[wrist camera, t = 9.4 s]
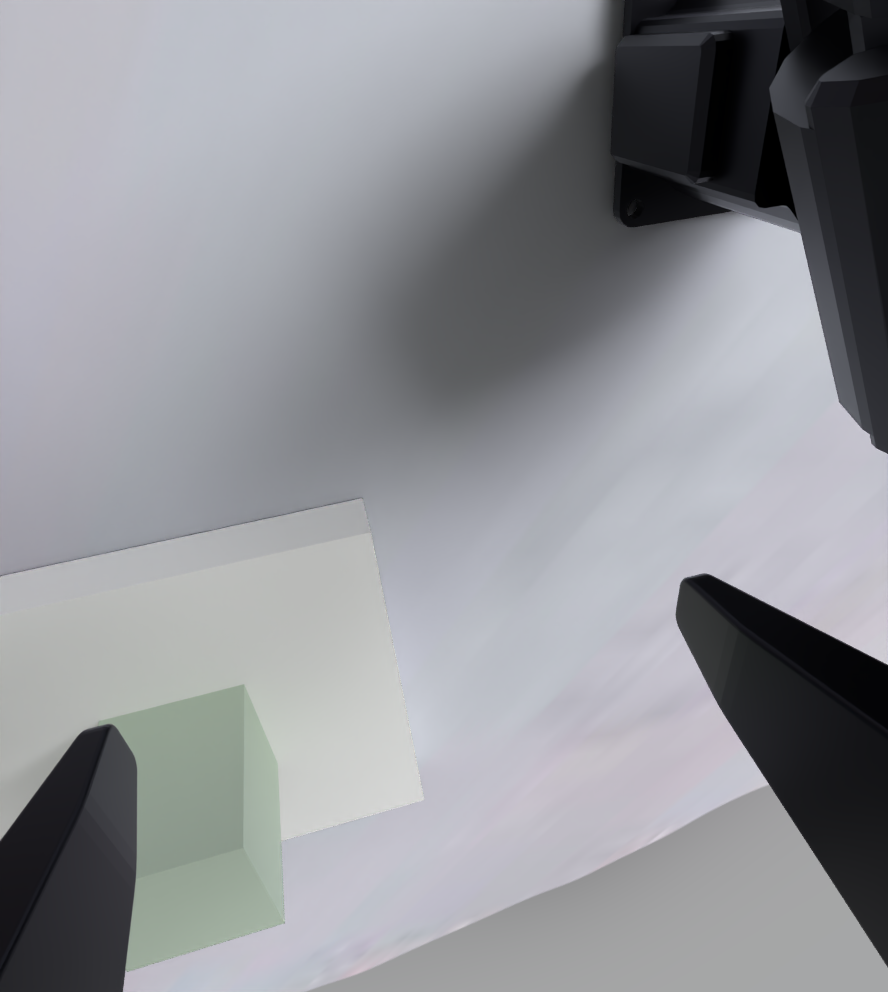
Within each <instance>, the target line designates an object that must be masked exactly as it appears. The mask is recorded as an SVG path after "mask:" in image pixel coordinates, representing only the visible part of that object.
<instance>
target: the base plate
mask: <svg viewBox="0 0 888 992" xmlns="http://www.w3.org/2000/svg"><path fill="white" fill-rule="evenodd" d="M243 684H244V685H245V687H246V690H247V692H248V694H249V697H250V699H251V701H252V704H253V706H254V709H255V711H256V713H257V716H258V718H259V720H260V723H261V725H262V727H263V730H264V732H265V734H266V737H267V739H268V742H269V744H270V746H271V749H272V751H273V753H274V756H275V758H276V760H277V763H278V778H279V801H280V825H281V841H284V840H288V839H291V838H295V837H298V836H302V835H305V834H309V833H312V832H316V831H319V830H322V829H326V828H329V827H333V826H336V825H340V824H343V823H347V822H350V821H354V820H357V819H361V818H364V817H368V816H371V815H374V814H378V813H381V812H385V811H388V810H392V809H395V808H399V807H402V806H406V805H409V804H413V803H416V802H419V801H423V800H424V796H423V791H422V786H421V781H420V776H419V771H418V766H417V761H416V755H415V750H414V745H413V740H412V735H411V730H410V725H409V720H408V715H407V710H406V705H405V700H404V695H403V690H402V685H401V680H400V675H399V670H398V665H397V660H396V655H395V650H394V645H393V640H392V635H391V630H390V625H389V620H388V615H387V610H386V605H385V600H384V595H383V590H382V585H381V580H380V575H379V569H378V564H377V559H376V554H375V549H374V544H373V539H372V534H371V530H370V526H369V522H368V518H367V514H366V510H365V507H364V503H363V499H362V498H360V499H356V500H351V501H346V502H342V503H337V504H332V505H328V506H323V507H319V508H314V509H309V510H305V511H300V512H295V513H291V514H286V515H281V516H277V517H272V518H268V519H263V520H258V521H254V522H249V523H244V524H240V525H235V526H230V527H226V528H221V529H217V530H212V531H207V532H203V533H198V534H193V535H189V536H184V537H180V538H175V539H170V540H166V541H161V542H156V543H152V544H147V545H142V546H138V547H133V548H129V549H124V550H119V551H115V552H110V553H105V554H101V555H96V556H91V557H87V558H82V559H78V560H73V561H68V562H64V563H59V564H54V565H50V566H45V567H41V568H36V569H31V570H27V571H22V572H17V573H13V574H8V575H3V576H0V840H1V839H2V837H3V836H4V835H5V833H6V832H7V831H8V829H9V828H10V827H11V825H12V824H13V823H14V821H15V820H16V818H17V817H18V816H19V814H20V813H21V812H22V810H23V809H24V808H25V806H26V805H27V804H28V802H29V801H30V800H31V798H32V797H33V795H34V794H35V793H36V791H37V790H38V789H39V787H40V786H41V785H42V783H43V782H44V781H45V779H46V778H47V776H48V775H49V774H50V772H51V771H52V770H53V768H54V767H55V766H56V764H57V763H58V762H59V760H60V759H61V758H62V756H63V755H64V753H65V752H66V751H67V749H68V748H69V747H70V745H71V744H72V743H73V741H74V740H75V739H76V737H77V736H78V735H79V734H80V733H81V732H82V731H84V730H86V729H89V728H93V727H97V726H98V723H99V721H101V720H105V719H109V718H113V717H117V716H121V715H125V714H129V713H133V712H137V711H141V710H145V709H148V708H152V707H156V706H160V705H164V704H168V703H172V702H176V701H180V700H184V699H188V698H192V697H196V696H200V695H203V694H207V693H211V692H215V691H219V690H223V689H227V688H231V687H235V686H239V685H243Z"/></svg>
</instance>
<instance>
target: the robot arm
mask: <svg viewBox="0 0 888 992" xmlns="http://www.w3.org/2000/svg"><path fill="white" fill-rule="evenodd" d="M611 154H612V156H613V157H614V158H615V159H616V167H615V185H614V202H613V212H614V217H615V218H616V220H617V221H618V222H620V223H621V224H623V225H625V226H627V227H639V226H645V225H651V224H657V223H663V222H669V221H675V220H681V219H688V218H694V217H700V216H706V215H712V214H718V213H724V212H730V211H735V212H738V213H741V214H744V215H747V216H750V217H753V218H756V219H759V220H762V221H765V222H768V223H771V224H774V225H778V226H781V227H784V228H787V229H790V230H793V231H796V232H799V233H801V236H802V240H803V245H804V249H805V254H806V258H807V262H808V267H809V271H810V276H811V280H812V284H813V289H814V293H815V298H816V302H817V306H818V311H819V315H820V320H821V324H822V328H823V333H824V337H825V342H826V346H827V350H828V355H829V359H830V363H831V368H832V372H833V377H834V381H835V385H836V390H837V394H838V399H839V402H840V404H841V405H842V406H843V407H844V408H845V409H846V411H847V412H848V413H849V414H850V415H851V416H852V418H853V419H854V420H855V421H856V422H857V423H858V425H859V426H860V427H861V428H862V429H863V430H864V431H866V432H867V433H869V434H870V438H871V443H872V444H873V445H874V446H875V447H876V448H877V449H879V450H881V451H883V452H885V453H887V454H888V0H625V7H624V25H623V38H622V40H621V42H620V43H619V45H618V46H617V48H616V54H615V74H614V93H613V112H612V132H611ZM634 200H636V201H637V208H636V210H635V211H634V213H633V214H631V215H629V216H628V212H627V209H628V206H629V204H630V203H631V202H632V201H634ZM676 621H677V624H678V627H679V629H680V631H681V633H682V635H683V637H684V639H685V641H686V643H687V645H688V647H689V649H690V651H691V653H692V655H693V657H694V659H695V661H696V663H697V665H698V667H699V668H700V670H701V672H702V674H703V676H704V678H705V680H706V682H707V684H708V686H709V688H710V690H711V692H712V694H713V696H714V698H715V700H716V702H717V703H718V705H719V707H720V709H721V710H722V712H723V714H724V715H725V717H726V718H727V720H728V722H729V723H730V725H731V726H732V728H733V729H734V731H735V732H736V734H737V736H738V737H739V739H740V740H741V742H742V743H743V745H744V746H745V748H746V749H747V751H748V752H749V754H750V756H751V757H752V759H753V760H754V762H755V763H756V765H757V766H758V768H759V769H760V771H761V773H762V774H763V776H764V777H765V779H766V780H767V782H768V783H769V785H770V786H771V788H772V789H773V791H774V793H775V794H776V796H777V797H778V799H779V800H780V802H781V803H782V805H783V806H784V808H785V810H786V811H787V813H788V814H789V816H790V817H791V819H792V820H793V822H794V823H795V825H796V826H797V828H798V830H799V831H800V833H801V834H802V836H803V837H804V839H805V840H806V842H807V843H808V845H809V846H810V848H811V850H812V851H813V853H814V854H815V856H816V857H817V859H818V860H819V862H820V863H821V865H822V867H823V868H824V870H825V871H826V873H827V874H828V876H829V877H830V879H831V880H832V882H833V884H834V885H835V887H836V888H837V890H838V891H839V893H840V894H841V896H842V897H843V898H844V900H845V902H846V904H847V905H848V907H849V908H850V910H851V911H852V913H853V914H854V916H855V917H856V919H857V920H858V922H859V924H860V925H861V927H862V928H863V930H864V931H865V933H866V934H867V936H868V938H869V939H870V940H871V942H872V943H873V945H874V947H875V948H876V950H877V951H878V953H879V954H880V956H881V957H882V959H883V960H884V962H885V964H886V965H887V967H888V665H887V664H885V663H883V662H881V661H879V660H877V659H875V658H873V657H871V656H869V655H867V654H865V653H863V652H862V651H860V650H858V649H856V648H854V647H852V646H850V645H848V644H846V643H844V642H842V641H840V640H838V639H836V638H834V637H832V636H830V635H828V634H826V633H824V632H822V631H820V630H818V629H816V628H814V627H812V626H810V625H808V624H806V623H804V622H802V621H801V620H799V619H797V618H795V617H793V616H791V615H789V614H787V613H785V612H783V611H781V610H779V609H777V608H775V607H773V606H771V605H769V604H767V603H765V602H763V601H761V600H759V599H757V598H755V597H753V596H751V595H749V594H747V593H745V592H743V591H741V590H740V589H738V588H736V587H734V586H732V585H730V584H728V583H726V582H724V581H722V580H720V579H718V578H716V577H714V576H712V575H709V574H699V575H695V576H691V577H687V578H684V579H683V580H682V582H681V584H680V589H679V595H678V601H677V607H676ZM136 870H137V763H136V759H135V756H134V754H133V752H132V751H131V749H130V748H129V746H128V744H127V743H126V741H125V740H124V738H123V737H122V735H121V733H120V732H119V730H118V729H117V728H116V726H114V725H113V724H105V725H101V726H97V727H93V728H89V729H86V730H84V731H82V732H81V733H80V734H79V735H78V736H77V737H76V739H75V740H74V741H73V743H72V744H71V745H70V747H69V748H68V749H67V751H66V752H65V753H64V755H63V756H62V758H61V759H60V760H59V762H58V763H57V764H56V766H55V767H54V768H53V770H52V771H51V772H50V774H49V775H48V776H47V778H46V779H45V781H44V782H43V783H42V785H41V786H40V787H39V789H38V790H37V791H36V793H35V794H34V795H33V797H32V798H31V800H30V801H29V802H28V804H27V805H26V806H25V808H24V809H23V810H22V812H21V813H20V814H19V816H18V817H17V818H16V820H15V821H14V823H13V824H12V825H11V827H10V828H9V829H8V831H7V832H6V833H5V835H4V836H3V837H2V839H1V840H0V992H123V986H124V977H125V969H126V961H127V952H128V944H129V935H130V927H131V919H132V910H133V902H134V894H135V883H136Z"/></svg>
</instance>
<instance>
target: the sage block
mask: <svg viewBox="0 0 888 992" xmlns="http://www.w3.org/2000/svg"><path fill="white" fill-rule="evenodd" d="M105 724H113V725H114V726H116V728H117V729H118V730H119V732H120V733H121V735H122V737H123V738H124V740H125V741H126V743H127V744H128V746H129V748H130V749H131V751H132V752H133V754H134V756H135V759H136V763H137V870H136V883H135V894H134V902H133V910H132V919H131V927H130V935H129V944H128V952H127V961H126V969H125V970H126V971H127V972H129V971H132V970H135V969H138V968H142V967H145V966H148V965H151V964H154V963H158V962H161V961H164V960H167V959H171V958H174V957H177V956H180V955H184V954H187V953H190V952H193V951H196V950H200V949H203V948H206V947H209V946H213V945H216V944H219V943H222V942H226V941H229V940H232V939H235V938H239V937H242V936H245V935H248V934H251V933H255V932H258V931H261V930H264V929H268V928H271V927H274V926H277V925H281V924H284V923H285V918H284V895H283V871H282V848H281V825H280V801H279V778H278V763H277V760H276V758H275V756H274V753H273V751H272V749H271V746H270V744H269V742H268V739H267V737H266V734H265V732H264V730H263V727H262V725H261V723H260V720H259V718H258V716H257V713H256V711H255V709H254V706H253V704H252V701H251V699H250V697H249V694H248V692H247V690H246V687H245V685H244V684H243V685H239V686H235V687H231V688H227V689H223V690H219V691H215V692H211V693H207V694H203V695H200V696H196V697H192V698H188V699H184V700H180V701H176V702H172V703H168V704H164V705H160V706H156V707H152V708H148V709H145V710H141V711H137V712H133V713H129V714H125V715H121V716H117V717H113V718H109V719H105V720H101V721H99V723H98V726H101V725H105Z"/></svg>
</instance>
